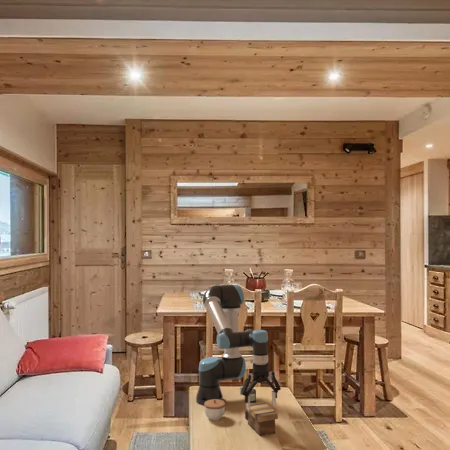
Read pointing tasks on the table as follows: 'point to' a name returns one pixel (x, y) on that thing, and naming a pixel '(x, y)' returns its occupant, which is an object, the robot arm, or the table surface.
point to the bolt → (252, 395)
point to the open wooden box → (261, 426)
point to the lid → (262, 412)
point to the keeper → (250, 402)
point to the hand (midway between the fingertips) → (261, 407)
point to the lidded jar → (214, 409)
